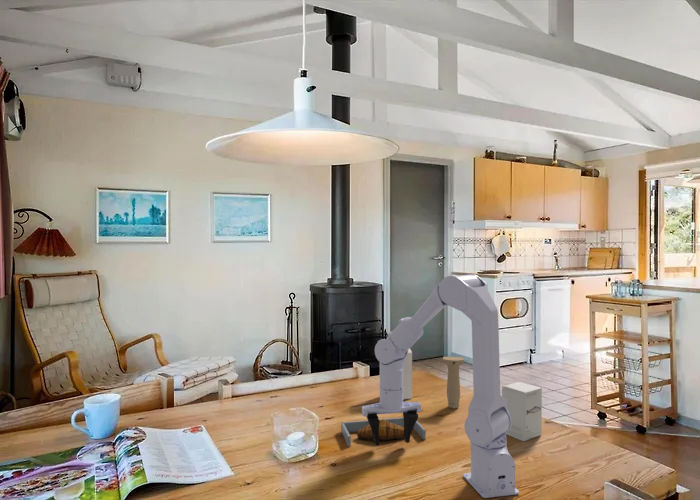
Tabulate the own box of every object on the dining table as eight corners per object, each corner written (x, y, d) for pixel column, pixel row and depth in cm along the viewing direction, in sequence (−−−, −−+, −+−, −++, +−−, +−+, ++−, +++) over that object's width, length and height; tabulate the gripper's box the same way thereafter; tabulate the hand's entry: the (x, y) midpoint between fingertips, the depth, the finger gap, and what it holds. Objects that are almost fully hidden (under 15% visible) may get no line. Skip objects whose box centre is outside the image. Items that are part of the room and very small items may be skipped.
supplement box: (524, 442, 121) (524, 392, 121) (500, 432, 127) (500, 385, 127) (542, 435, 125) (542, 387, 125) (518, 426, 131) (518, 380, 131)
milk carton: (382, 395, 158) (381, 338, 158) (399, 392, 161) (399, 336, 161) (393, 402, 152) (393, 342, 152) (412, 398, 155) (412, 340, 155)
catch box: (425, 439, 123) (425, 429, 123) (348, 446, 119) (348, 436, 119) (413, 425, 132) (413, 416, 132) (341, 431, 128) (341, 422, 128)
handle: (464, 410, 144) (464, 360, 144) (443, 409, 145) (442, 360, 145) (463, 405, 149) (463, 357, 148) (442, 404, 150) (442, 356, 149)
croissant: (406, 432, 128) (406, 413, 128) (411, 442, 121) (411, 423, 121) (355, 434, 127) (355, 415, 127) (358, 444, 120) (358, 424, 120)
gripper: (414, 380, 123) (414, 433, 123) (358, 384, 120) (359, 438, 120) (423, 389, 116) (424, 444, 116) (365, 393, 113) (365, 450, 113)
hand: (391, 442), depth 117 cm, fingers open, 7 cm apart
